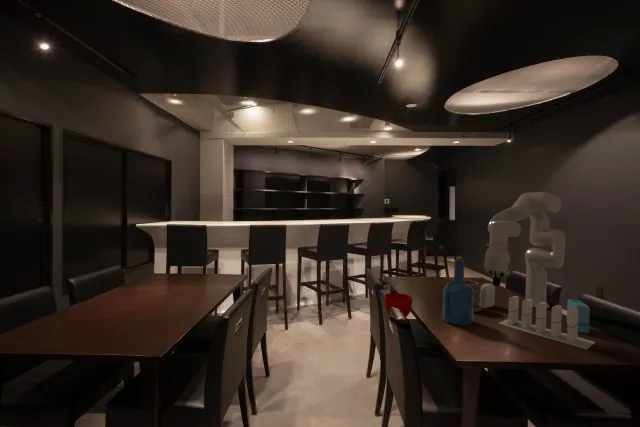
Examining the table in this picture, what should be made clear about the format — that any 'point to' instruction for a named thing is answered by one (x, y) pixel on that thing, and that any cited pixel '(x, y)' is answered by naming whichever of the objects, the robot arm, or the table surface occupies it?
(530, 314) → the domino
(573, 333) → the domino
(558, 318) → the domino
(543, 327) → the domino
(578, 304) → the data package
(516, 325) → the domino mat
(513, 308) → the domino
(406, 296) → the ceramic cup
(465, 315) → the wine bottle
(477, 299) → the tankard
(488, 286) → the photo printer
